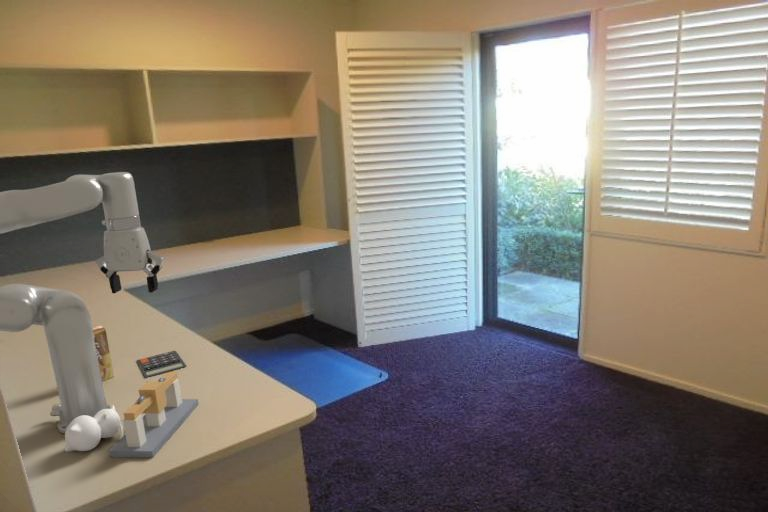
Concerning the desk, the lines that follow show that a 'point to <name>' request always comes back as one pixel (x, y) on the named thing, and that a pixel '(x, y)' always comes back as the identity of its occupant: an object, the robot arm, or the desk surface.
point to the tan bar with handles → (151, 397)
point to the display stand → (154, 426)
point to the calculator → (160, 364)
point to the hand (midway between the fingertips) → (135, 291)
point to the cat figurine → (92, 430)
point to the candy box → (103, 352)
